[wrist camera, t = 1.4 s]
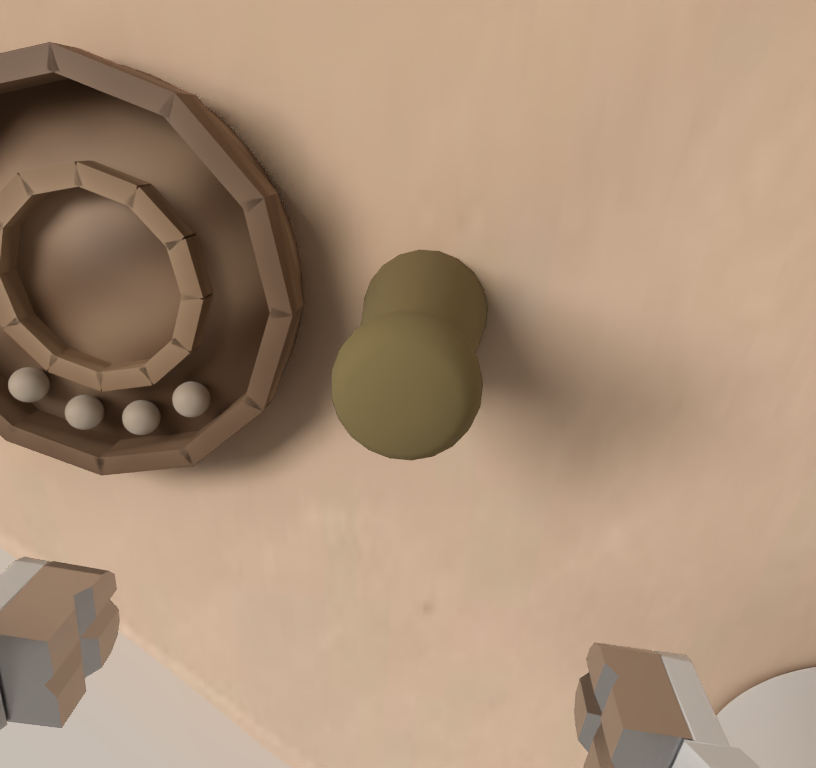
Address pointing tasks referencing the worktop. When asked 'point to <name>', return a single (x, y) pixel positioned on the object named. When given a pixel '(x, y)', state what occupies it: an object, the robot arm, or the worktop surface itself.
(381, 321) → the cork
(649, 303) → the worktop surface
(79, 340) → the tray
